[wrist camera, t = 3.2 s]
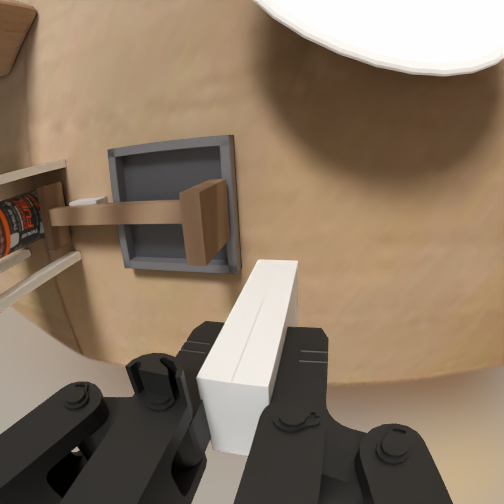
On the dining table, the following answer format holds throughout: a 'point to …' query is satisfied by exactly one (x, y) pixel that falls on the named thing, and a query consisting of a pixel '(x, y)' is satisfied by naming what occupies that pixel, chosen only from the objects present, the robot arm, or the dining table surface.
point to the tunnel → (43, 274)
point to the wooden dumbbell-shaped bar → (146, 217)
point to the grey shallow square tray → (168, 188)
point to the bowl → (401, 31)
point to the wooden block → (13, 30)
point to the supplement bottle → (19, 222)
